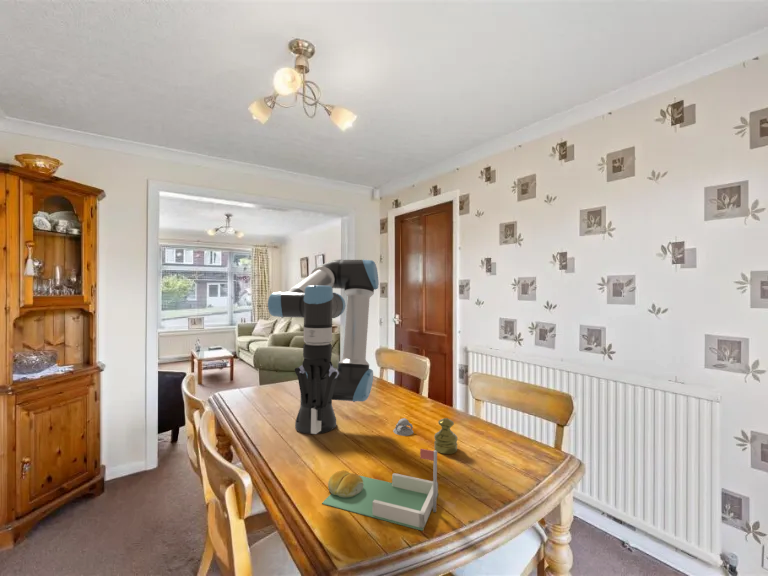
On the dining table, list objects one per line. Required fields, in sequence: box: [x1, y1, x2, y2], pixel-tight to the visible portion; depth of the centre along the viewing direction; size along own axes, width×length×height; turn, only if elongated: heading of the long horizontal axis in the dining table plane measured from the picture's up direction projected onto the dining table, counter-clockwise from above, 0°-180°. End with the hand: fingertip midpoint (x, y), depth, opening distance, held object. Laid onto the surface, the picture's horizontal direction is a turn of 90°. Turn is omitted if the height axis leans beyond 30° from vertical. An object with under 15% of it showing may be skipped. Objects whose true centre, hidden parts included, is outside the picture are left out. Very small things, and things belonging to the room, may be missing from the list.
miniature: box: [392, 417, 414, 437], centre depth 131 cm, size 8×8×5 cm
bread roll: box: [327, 469, 364, 498], centre depth 92 cm, size 8×9×4 cm
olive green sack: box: [433, 417, 458, 455], centre depth 117 cm, size 7×7×10 cm
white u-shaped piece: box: [372, 448, 439, 529], centre depth 86 cm, size 13×14×14 cm
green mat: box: [321, 475, 439, 531], centre depth 89 cm, size 25×15×1 cm, turn 69°
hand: (316, 431), depth 95 cm, fingers closed
